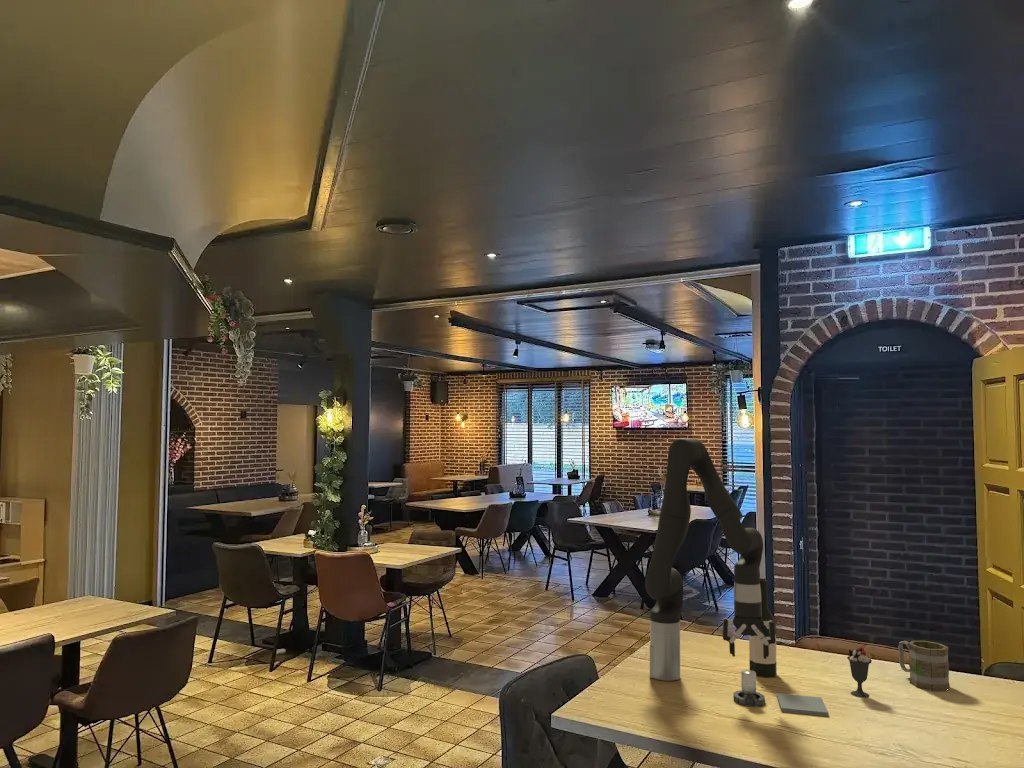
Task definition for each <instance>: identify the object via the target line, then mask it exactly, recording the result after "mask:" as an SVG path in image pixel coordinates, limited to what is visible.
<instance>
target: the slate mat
mask: <svg viewBox="0 0 1024 768" xmlns="http://www.w3.org/2000/svg"><path fill="white" fill-rule="evenodd" d="M776 698H777V702H778V703H777V704H778V706H779V709H780V711H781V713H791V714H803V715H810V716H811V715H812V716H820V717H829V710H828V708H827V706H826V704H825V702H824V701H823V698H822V697H821V696H810V695H799V694H792V693H791V694H790V693H780V692H779V693H778V692H776Z"/></svg>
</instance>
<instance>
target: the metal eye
mask: <svg viewBox="0 0 1024 768" xmlns="http://www.w3.org/2000/svg"><path fill="white" fill-rule="evenodd" d="M732 694H733V702H735V703H737V704H738V705H741V706H742V705H743V706H745V707H755V708H756V707H763V706H764V705H766V698H765V695H763V694H762V693H760V692H757V691H756V699H753V700H752V699H745V698H742V690H736V691H734V692H733V693H732Z"/></svg>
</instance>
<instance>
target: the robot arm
mask: <svg viewBox="0 0 1024 768" xmlns="http://www.w3.org/2000/svg"><path fill="white" fill-rule="evenodd" d="M667 451H668V453H667V461H666V462H667V463H666V474H665V477H666V478H665V484H664V490H663V498H662V501H661V507H660V514H659V517H658V518H659V519H658V524H657V530H656V536H655V541H654V545H653V546H654V547H653V550H652V556H651V557H650V558H651V560H650V561H649V565H648V569H647V571H646V575H645V590H646V593H647V594H648V595H649V597H650V598H651V599H652V600H655V601H656V602H655V604H654V606H653V607H652V608H651V609H650V611H649V614H650V615H649V637H650V638H649V641H650V642H649V678H651V679H655V680H657V681H658V680H659V681H664V682H665V681H667V682H672V681H677V680H680V679H681V615H682V612H683V606H684V603H683V602H684V581H683V577H682V575H681V574H680V572H679V571H678V570H677V569H676V568H675V567H673V564H674V560H675V558H676V557H675V556H676V555H677V553H678V552H679V551H678V550H680V548H681V546H682V544H683V542H684V540H685V538H686V536H687V535H688V531H689V530H688V529H689V526H690V520H691V514H692V513H691V512H692V508H691V503H690V499H689V494H688V479H689V473H690V470H691V469H692V471H694V473H695V474H696V475H697V476H698V479H699V480H700V482H701V484H702V486H703V489H704V494H705V498H706V502H707V505H708V507H709V508H710V510H711V512H712V513H713V515H714V516H715V518H716V519H717V521H718V522H719V524H720V526H721V530H722V532H723V535H724V537H725V540H726V542H727V545H728V546H729V547H730V548H731V550H732V551H733V552H735V553H736V554H739V555H740V556H739V560H738V561H736V562H735V563H734V566H733V576H734V577H733V581H734V582H733V585H734V586H733V613H734V616H733V619H732V618H727V617H726V616H725V617H723V618H722V619H723V620H722V640H724V641H726V642H728V643H729V654H730V655H731V657H734V658H735V657H736V649H735V648H736V645H735V641H736V640H737V639H738V638H739V637H740V636H741V635H742V636H743V637H744V636H745V637H746V636H749V635H750V636H755V635H758V636H759V638H760V639H761V640H762V641H763V643H764V644H763V658H764V659H766V657H768V656H769V645H770V644H772V643H773V644H774V643H775V631H774V623H773V621H772V620H769V621H763V620H762V605H761V588H760V577H761V576H760V566H761V563H762V558H763V551H764V539H763V536H762V534H761V533H760V531H759V530H758V529H756V528H754V527H744V526H743V524H742V522H741V520H742V518H743V513H742V511H741V509H740V508H739V506H738V505H737V503H736V502H735V500H734V499H733V497H732V496H731V494H730V493H729V491H728V490H727V488H726V486H725V484H724V483H723V481H722V479H721V477H720V475H719V473H718V471H717V469H716V467H715V464H714V463H713V460H712V458H711V456H710V454H709V451H708V449H707V447H706V446H705V444H704V443H703V442H702V441H701V440H699V439H697V438H690V437H688V438H687V437H679V438H676V439H674V440H673V441H672V442H671V444H670V445H669V447H668V450H667ZM732 624H733V625H734V627H735V630H734V631H733V632H732V634H731V635H728V628H730V627H731V625H732ZM764 625H765V626H766V627H767V629H769V632H770V638H769V639H766V637H765V636H764V635H763V633H762V632H761V631H760V630H761V629H762V627H763V626H764Z"/></svg>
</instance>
